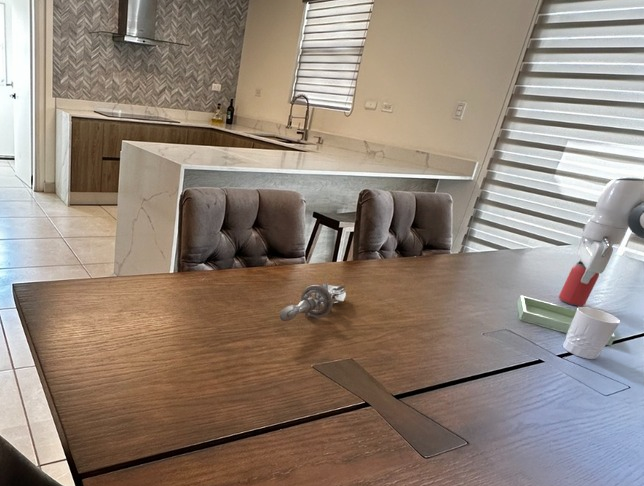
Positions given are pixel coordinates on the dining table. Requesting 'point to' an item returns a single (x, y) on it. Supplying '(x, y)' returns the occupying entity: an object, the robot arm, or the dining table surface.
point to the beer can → (577, 286)
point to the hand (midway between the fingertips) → (580, 277)
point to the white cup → (589, 332)
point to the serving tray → (547, 315)
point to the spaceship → (315, 301)
